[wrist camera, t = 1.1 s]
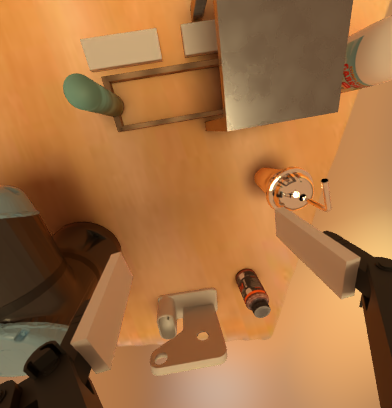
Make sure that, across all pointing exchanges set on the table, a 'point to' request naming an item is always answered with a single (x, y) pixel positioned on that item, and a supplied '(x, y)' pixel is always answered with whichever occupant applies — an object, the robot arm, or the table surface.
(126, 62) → the broken lane
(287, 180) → the cup with straw
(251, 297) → the supplement bottle
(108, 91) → the frame
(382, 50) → the milk bottle
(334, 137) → the table surface
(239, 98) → the shelf
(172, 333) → the beige angle bracket
